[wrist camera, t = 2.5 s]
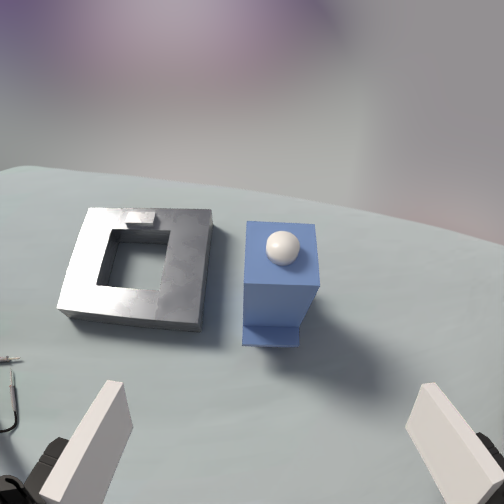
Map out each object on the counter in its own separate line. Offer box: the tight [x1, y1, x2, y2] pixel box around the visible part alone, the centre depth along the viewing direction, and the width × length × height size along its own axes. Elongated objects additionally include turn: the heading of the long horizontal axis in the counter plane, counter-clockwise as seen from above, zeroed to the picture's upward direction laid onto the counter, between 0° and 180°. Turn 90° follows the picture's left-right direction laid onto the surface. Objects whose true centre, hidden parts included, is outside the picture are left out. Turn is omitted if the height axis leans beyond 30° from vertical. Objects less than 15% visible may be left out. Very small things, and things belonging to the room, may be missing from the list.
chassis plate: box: [57, 208, 213, 332], centre depth 30 cm, size 14×12×3 cm
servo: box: [242, 221, 320, 347], centre depth 24 cm, size 4×8×12 cm, turn 178°
